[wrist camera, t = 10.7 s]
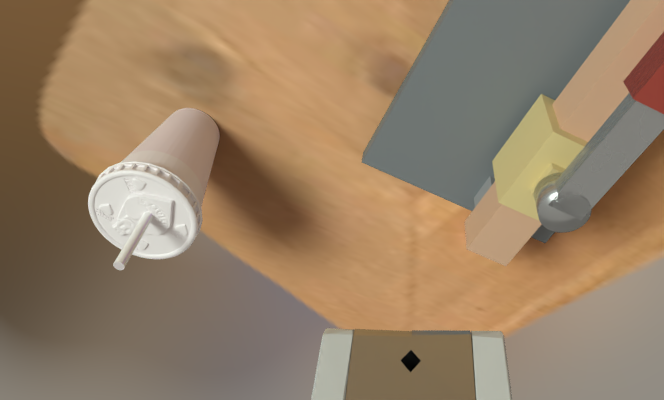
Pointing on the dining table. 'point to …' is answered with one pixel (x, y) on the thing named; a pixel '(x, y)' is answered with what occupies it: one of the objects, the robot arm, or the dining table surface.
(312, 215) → the dining table surface
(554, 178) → the lever
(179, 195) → the smoothie
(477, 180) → the board
